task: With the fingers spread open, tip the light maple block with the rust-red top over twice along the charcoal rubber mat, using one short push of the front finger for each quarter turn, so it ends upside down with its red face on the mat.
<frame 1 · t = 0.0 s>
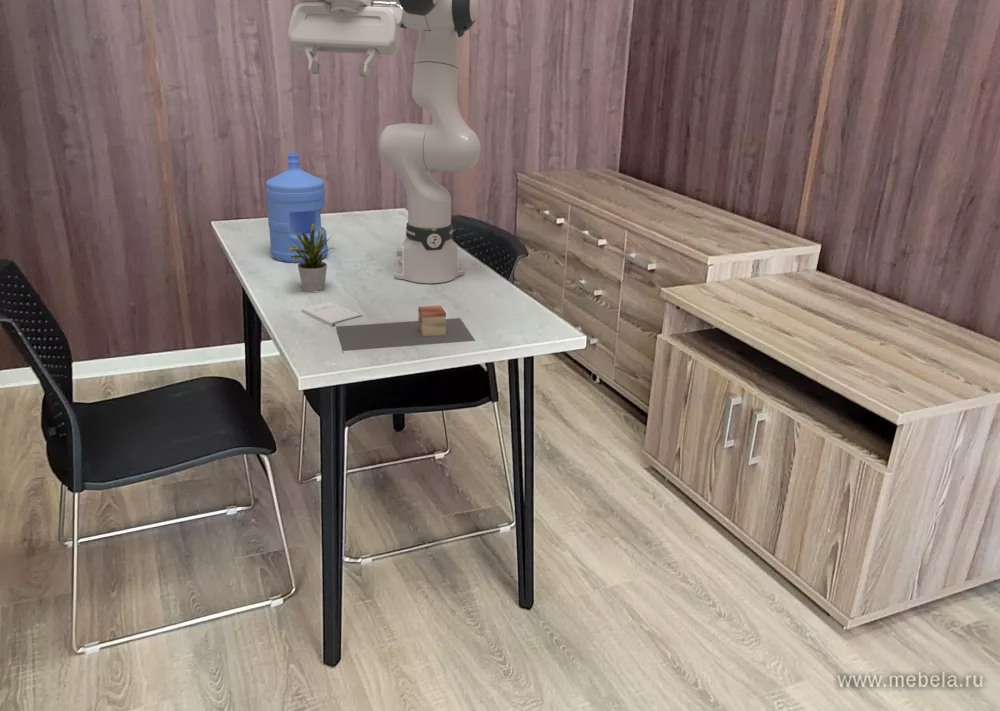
hand: (338, 74, 145), 54 cm above the table, tool tilted 30°, fingers open, 8 cm apart
external hard drive: (332, 318, 188), on the table
water jug: (299, 256, 231), on the table
house plant: (311, 288, 205), on the table
maple block: (431, 331, 179), point 1 cm above the table, touching rubber mat
rubber mat: (404, 336, 177), on the table
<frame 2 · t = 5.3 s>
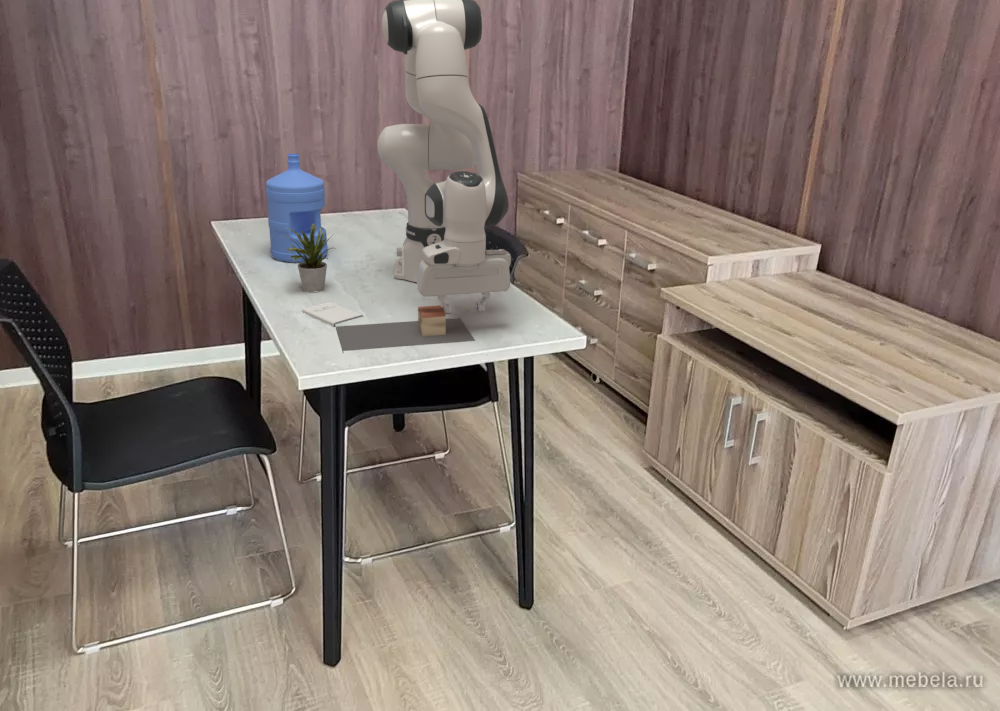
hand: (463, 312, 179), 5 cm above the table, tool pointing down, fingers open, 6 cm apart
maple block: (431, 331, 179), point 1 cm above the table, touching gripper, rubber mat
everything else where it was.
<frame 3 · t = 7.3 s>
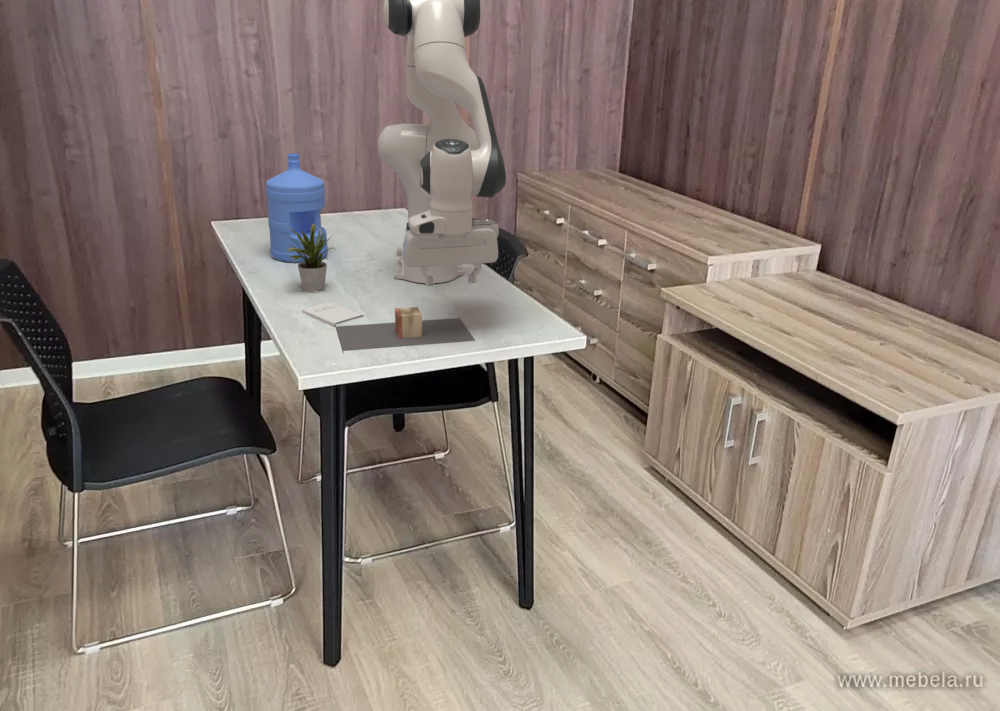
hand: (450, 283, 176), 11 cm above the table, tool pointing down, fingers open, 8 cm apart
maple block: (419, 321, 177), point 3 cm above the table, tilted 90°, touching rubber mat
everything else where it was.
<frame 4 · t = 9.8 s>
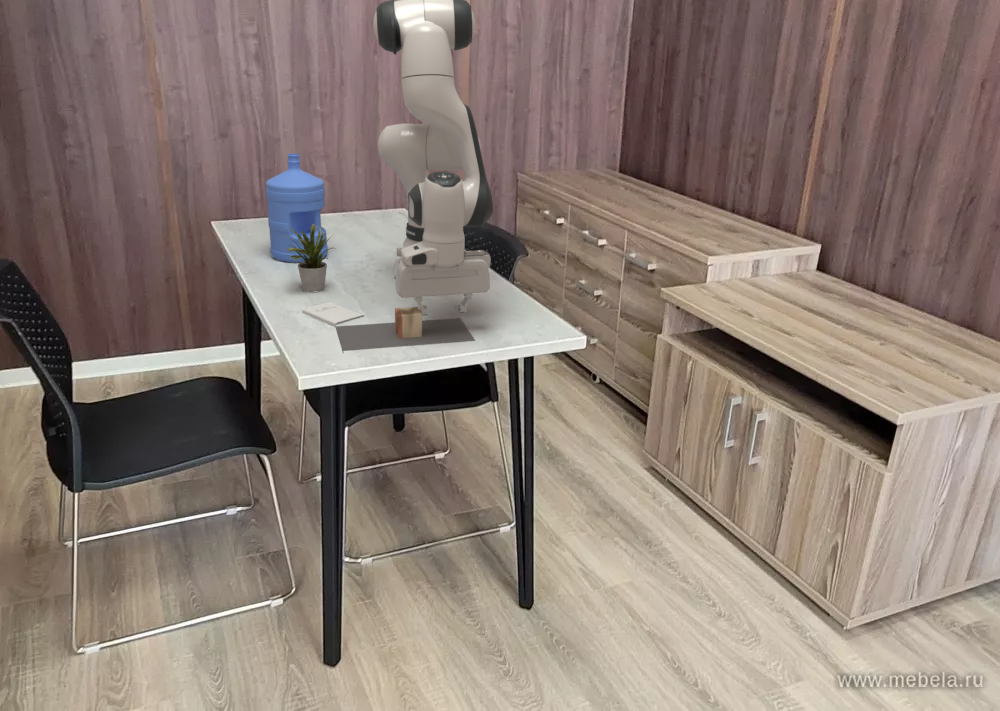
hand: (443, 313, 178), 5 cm above the table, tool pointing down, fingers open, 7 cm apart
maple block: (419, 321, 177), point 3 cm above the table, tilted 90°, touching gripper, rubber mat
everything else where it was.
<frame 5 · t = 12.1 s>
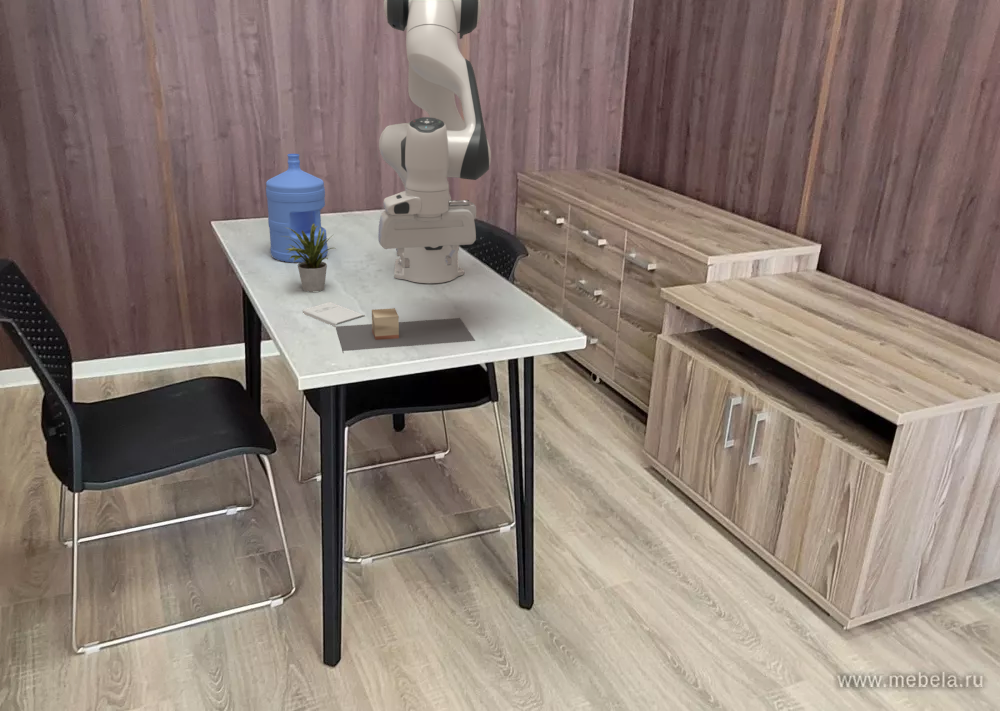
hand: (427, 265, 173), 15 cm above the table, tool pointing down, fingers open, 8 cm apart
maple block: (384, 312, 174), point 6 cm above the table, tilted 180°, touching rubber mat
everything else where it was.
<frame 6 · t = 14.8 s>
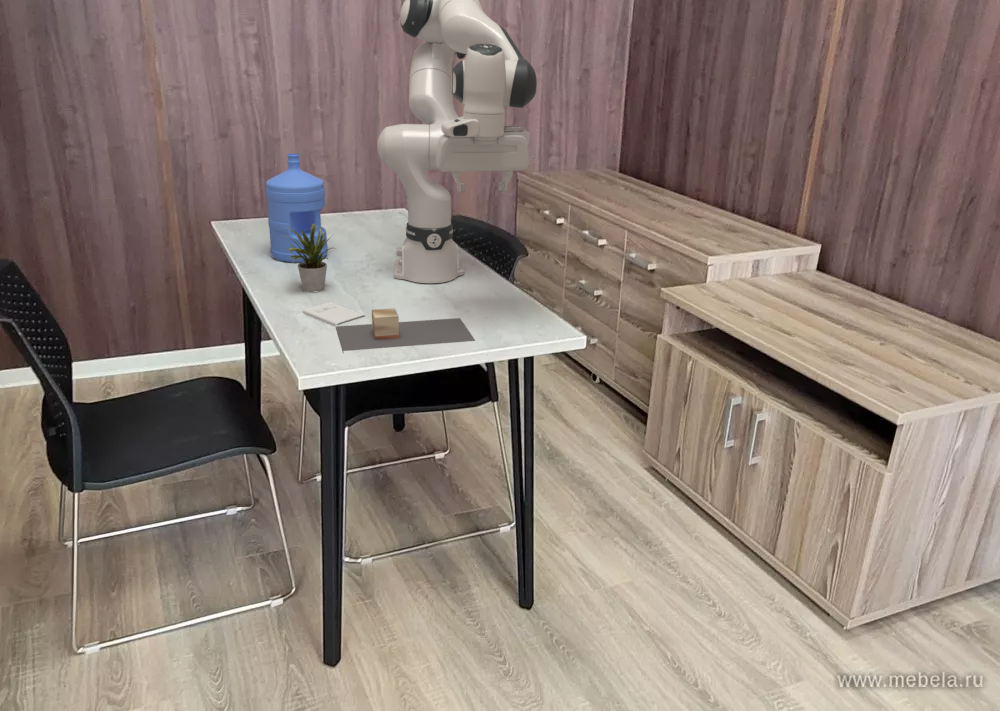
hand: (481, 191, 179), 29 cm above the table, tool pointing down, fingers open, 8 cm apart
nothing on the table moved.
at the end: maple block tilted 180°; maple block inside the target area (0.8 cm from its centre), point 5.6 cm above the table; the gripper is holding nothing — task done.
